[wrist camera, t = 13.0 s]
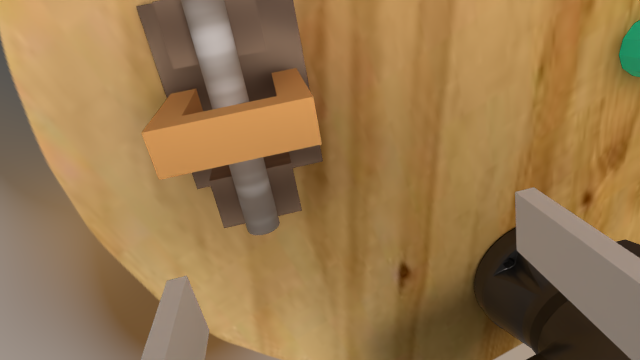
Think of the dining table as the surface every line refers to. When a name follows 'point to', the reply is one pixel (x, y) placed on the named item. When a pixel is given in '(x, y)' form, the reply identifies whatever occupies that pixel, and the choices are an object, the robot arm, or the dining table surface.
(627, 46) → the candle
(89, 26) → the dining table surface
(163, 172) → the orange open frame
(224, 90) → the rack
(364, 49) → the dining table surface
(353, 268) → the dining table surface
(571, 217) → the robot arm
